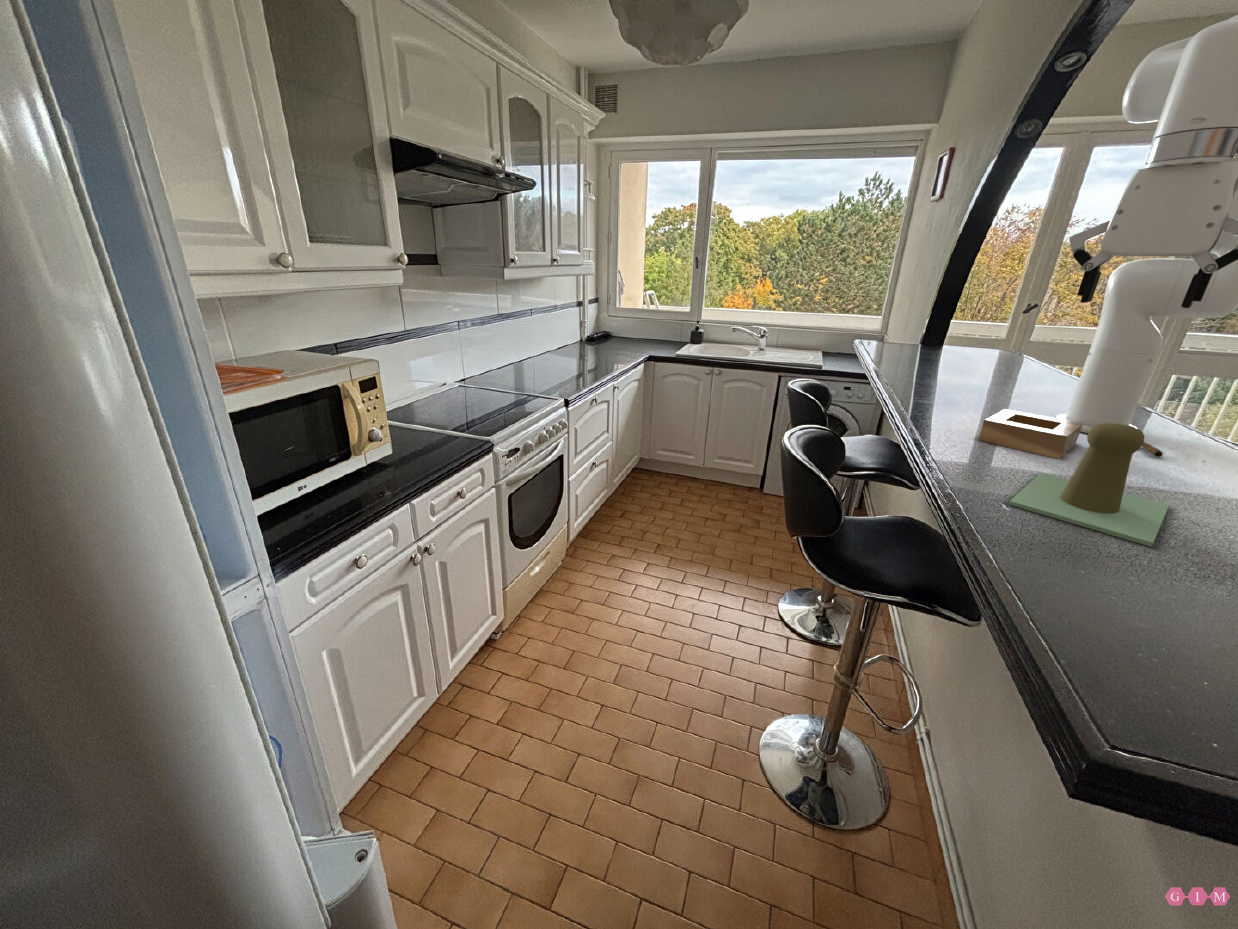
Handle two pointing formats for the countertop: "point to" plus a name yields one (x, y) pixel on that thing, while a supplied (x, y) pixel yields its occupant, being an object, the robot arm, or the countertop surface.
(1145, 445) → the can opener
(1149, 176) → the robot arm
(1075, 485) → the cork
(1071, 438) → the holder
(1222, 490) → the countertop surface
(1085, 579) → the countertop surface
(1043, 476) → the mat
